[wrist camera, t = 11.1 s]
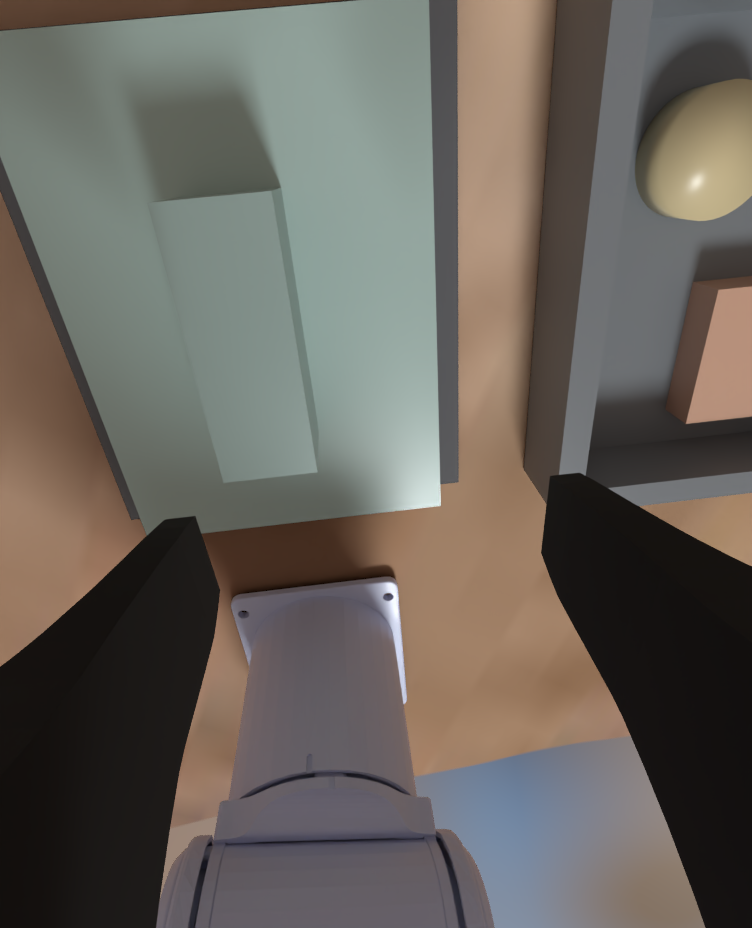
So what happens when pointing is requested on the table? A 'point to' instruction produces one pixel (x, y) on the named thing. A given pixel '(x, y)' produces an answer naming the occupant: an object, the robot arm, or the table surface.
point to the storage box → (646, 252)
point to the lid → (241, 250)
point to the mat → (444, 232)
